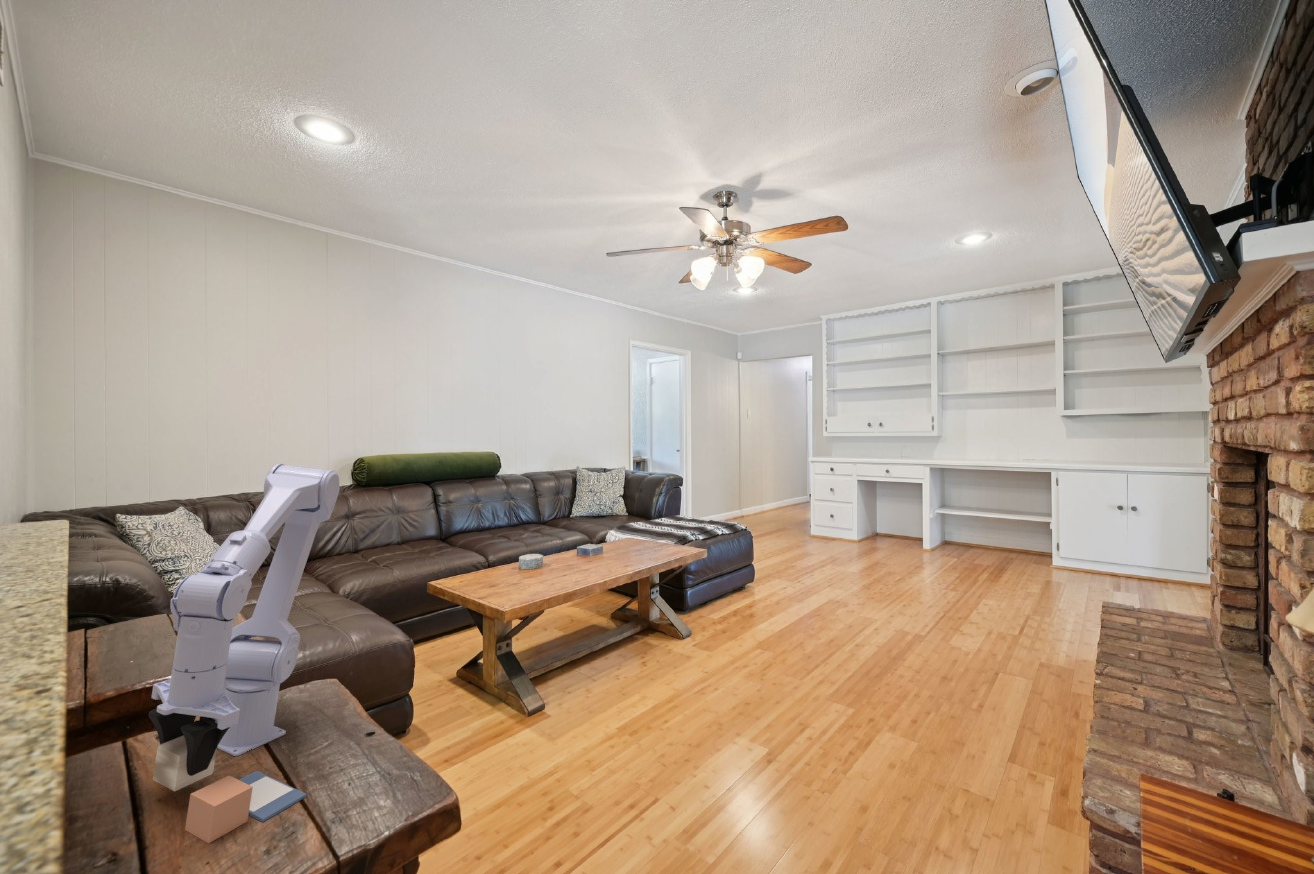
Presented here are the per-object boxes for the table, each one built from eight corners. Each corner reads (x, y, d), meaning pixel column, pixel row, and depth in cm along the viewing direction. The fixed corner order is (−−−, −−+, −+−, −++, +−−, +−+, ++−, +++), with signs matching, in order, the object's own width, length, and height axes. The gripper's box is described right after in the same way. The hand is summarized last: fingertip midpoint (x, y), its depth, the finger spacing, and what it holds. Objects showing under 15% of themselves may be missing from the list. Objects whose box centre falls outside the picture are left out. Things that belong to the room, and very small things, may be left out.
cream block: (152, 779, 72) (158, 745, 72) (191, 762, 76) (196, 730, 76) (174, 791, 71) (179, 756, 71) (213, 773, 75) (217, 740, 75)
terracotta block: (184, 830, 68) (190, 793, 68) (223, 809, 72) (229, 775, 72) (208, 844, 66) (214, 806, 66) (247, 822, 71) (252, 786, 71)
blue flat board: (211, 796, 74) (211, 792, 74) (256, 773, 80) (257, 770, 80) (262, 822, 71) (263, 818, 71) (306, 796, 76) (306, 793, 76)
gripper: (130, 659, 72) (115, 762, 72) (203, 689, 67) (186, 800, 67) (191, 643, 79) (177, 737, 79) (261, 670, 74) (246, 771, 74)
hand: (185, 765), depth 73 cm, fingers closed on cream block, 4 cm apart
